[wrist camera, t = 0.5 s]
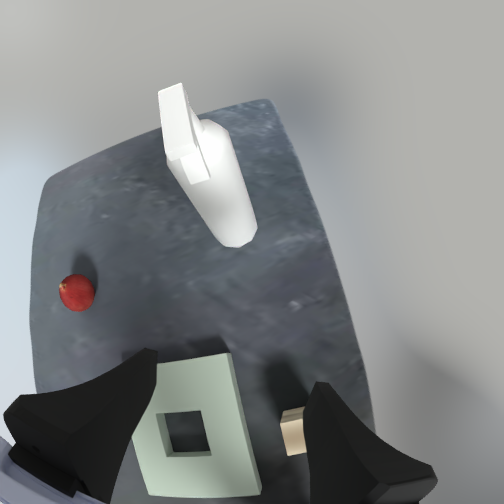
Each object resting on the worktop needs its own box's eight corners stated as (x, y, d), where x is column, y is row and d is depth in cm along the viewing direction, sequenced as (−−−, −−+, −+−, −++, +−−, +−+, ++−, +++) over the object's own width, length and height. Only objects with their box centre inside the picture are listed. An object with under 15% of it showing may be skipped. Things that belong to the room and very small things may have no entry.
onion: (81, 319, 41) (48, 310, 33) (77, 287, 43) (46, 274, 35) (106, 309, 41) (74, 298, 33) (101, 276, 43) (71, 261, 35)
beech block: (320, 431, 30) (325, 447, 24) (289, 438, 31) (287, 455, 24) (314, 403, 32) (318, 414, 25) (283, 411, 32) (280, 423, 26)
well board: (262, 487, 28) (259, 494, 26) (156, 489, 29) (149, 494, 27) (230, 353, 36) (226, 352, 33) (127, 368, 37) (118, 368, 35)
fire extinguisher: (248, 180, 44) (199, 45, 21) (267, 251, 40) (219, 127, 17) (207, 193, 45) (132, 72, 21) (221, 264, 41) (124, 164, 17)
